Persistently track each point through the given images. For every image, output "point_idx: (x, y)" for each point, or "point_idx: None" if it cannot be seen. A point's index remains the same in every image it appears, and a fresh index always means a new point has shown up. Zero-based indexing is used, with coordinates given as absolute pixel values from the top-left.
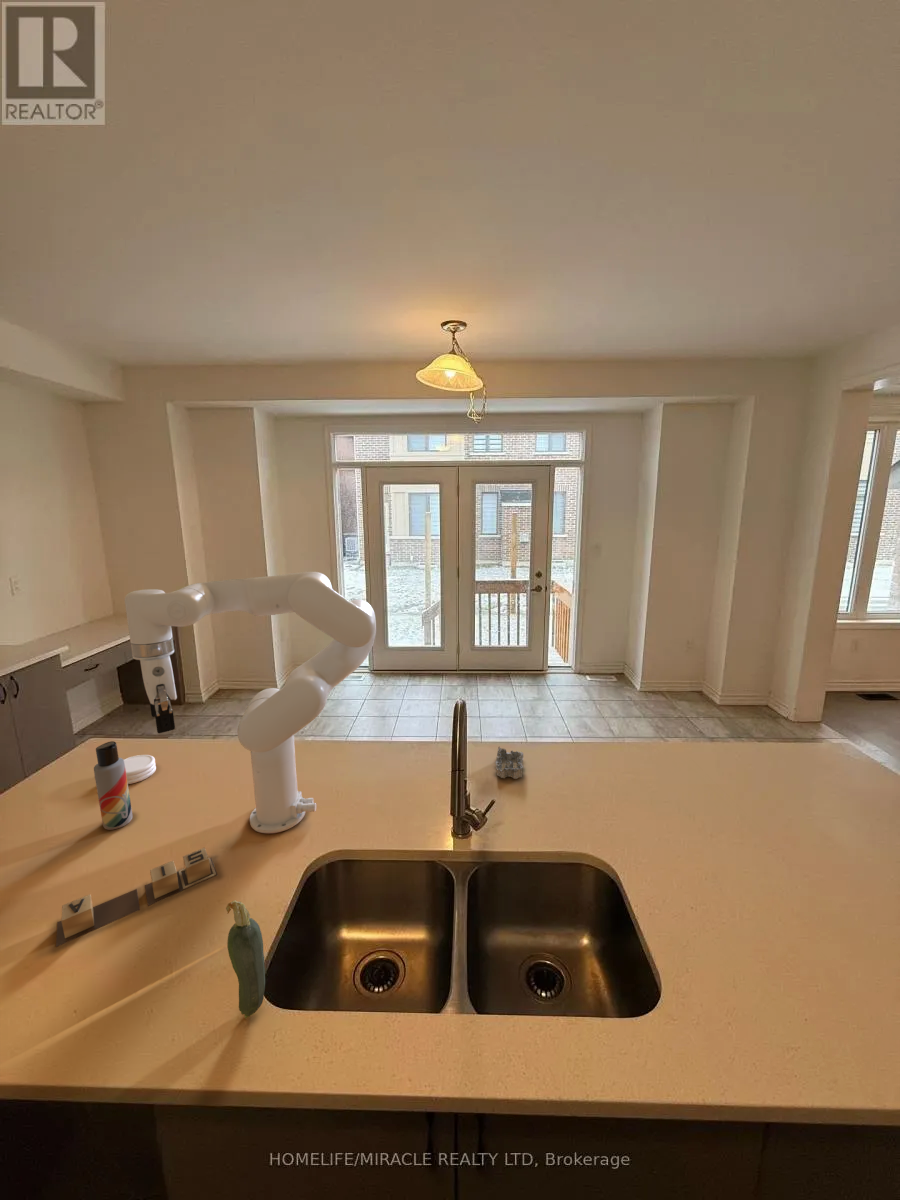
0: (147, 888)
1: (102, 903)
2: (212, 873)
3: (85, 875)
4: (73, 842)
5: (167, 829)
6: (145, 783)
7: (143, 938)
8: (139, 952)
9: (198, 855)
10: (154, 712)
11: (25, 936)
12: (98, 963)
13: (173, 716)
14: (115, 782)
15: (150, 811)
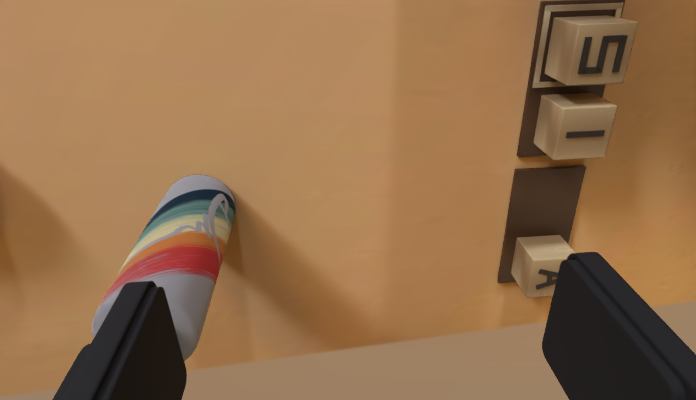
0: (533, 152)
1: (508, 225)
2: (608, 10)
3: (384, 253)
4: (239, 280)
5: (315, 94)
6: None
7: (659, 161)
8: (685, 168)
9: (602, 47)
10: (172, 396)
11: (488, 314)
12: (647, 223)
13: (681, 341)
14: (207, 281)
15: (187, 130)
